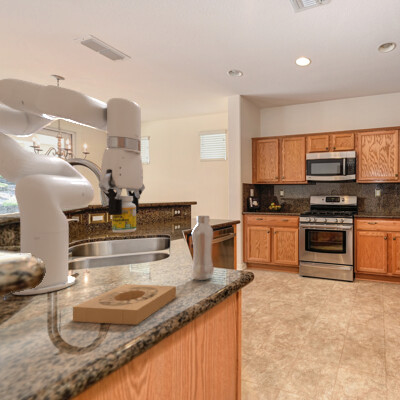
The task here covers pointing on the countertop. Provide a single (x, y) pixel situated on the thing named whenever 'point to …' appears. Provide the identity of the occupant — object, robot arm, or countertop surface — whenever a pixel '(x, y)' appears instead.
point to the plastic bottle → (202, 249)
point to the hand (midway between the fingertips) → (124, 213)
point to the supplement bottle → (125, 216)
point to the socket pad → (124, 304)
